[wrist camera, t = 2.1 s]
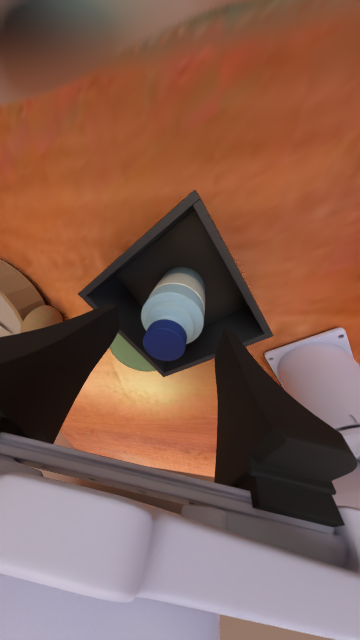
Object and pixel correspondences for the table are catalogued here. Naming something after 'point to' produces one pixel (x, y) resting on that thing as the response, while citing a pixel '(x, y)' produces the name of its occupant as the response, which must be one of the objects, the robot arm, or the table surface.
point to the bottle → (174, 314)
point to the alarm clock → (22, 304)
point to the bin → (171, 252)
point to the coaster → (129, 355)
